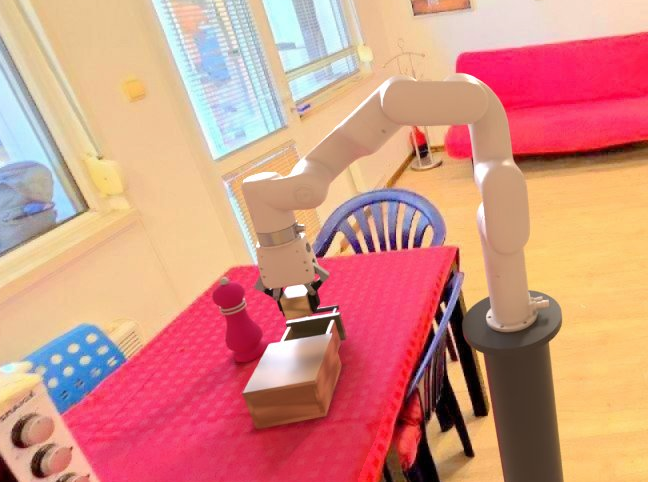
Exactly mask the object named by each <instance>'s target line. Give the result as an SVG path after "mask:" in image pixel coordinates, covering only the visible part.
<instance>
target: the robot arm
mask: <svg viewBox="0 0 648 482" xmlns="http://www.w3.org/2000/svg"><path fill="white" fill-rule="evenodd" d="M464 125H465V126H466V125H467V126H468V127H467V128H468V131H469V137H470V143H471V152H472V160H473V162H472V163H473V178H474V182H475V185H476V187H477V189H478V190H479V193H480V195H481V201H482V202H480V204H479V205H478V208H477V210H476V227H477V230H478V235H479V239H480V245H481V250H482V251H481V252H482V256H483V263H484V271H485V278H486V282H487V289H488V297H490V304H491V309H490V310H489V311H488V312H487V315H486V321H487V324H488V325H489V327H491V328H492V329H494V330H496V331H500V332H515V331H519V330H522V329H525V328H527V327H529V326H530V325H531V324H533V323H534V321H535V320H536V319H537V309H545V308H550V306H549V300H544V301H543V298H542V297H537V298H533V297H530V293H529V290H530V289H529V282H528V274H527V267H526V257H525V256H526V255H525V249H524V248H525V247H526V245H527V243H528V241H529V238H530V233H531V219H530V208H529V207H530V206H529V195H528V193H529V192H528V185H527V181H526V178H525V176H524V173H523V172H522V170H521V169H520V168H519V166H518V165H517V164H516V162H515V160H514V155H513V147H512V139H511V132H510V125H509V119H508V117H507V112H506V109H505V107H504V106H503V103H502V101H501V100H500V98H499V97H498V95H497V94H496V93H495V92H494V91H493V89H492V88H491V87H489V85H487V84H486V83H484V81H481V80H480V79H478V78H476V77H475V76H473V75H470V74H467V73H463V72H456V73H455V72H454V73H451V74H449V75H448V76H447V77H445V78H444V79H443V80H417V79H415V78H414V77H413V76H410V75H408V74H403V73H397V74H395V75H393V76H390V77H389V78H388V79H386V80H385V81H384V82H383V83H382V84H380V85H379V87H377V89H376V90H374V92H372V93H371V94H370V95H369V96H368V97H367V98H366V99H364V100H363V102H362V103H361V104H359V106H357V107H356V109H354V111H352V112H351V113H350V114H349V115H348V116H346V118H344V120H343V121H342V122H341V123H339V124H338V125H337V126H336V127H335V128H334V129H333V130H332V131H331V132H330V133H328V135H326V136H325V137H324V138H323V139H322V140H321V141H320V142H318V144H316V145H315V146H314V147H313V148H312V149H311V150H310V151H308V153H307V154H306V155H305V156H303V157H302V158H301V159H300V160H299V162H298V163H296V164H295V166H294V167H293V169H292V170H291V172H290V173H289V174H288V175H286V176H283V175H282V174H281V173H279V172H276V171H272V172H271V171H268V172H267V171H266V172H260V173H256V174H254V175H250V176H248V177H247V178H245V179H244V180H243V181H242V182H241V186H240V189H241V192H242V195H243V199H244V202H245V206H246V208H247V211H248V214H249V218H250V220H251V223H252V226H253V229H254V234H255V237H256V239H257V243H256V244H255V245H256V246H255V247H256V249H255V251H256V259H257V267H258V271H259V277H258V279H257V281H256V282H255V284H254V286H253V289H254V290H256V291H259V292H261V293H264V294H265V295H266V296H269V297H270V298H272V300H273V301H275V302H276V304H277V306H278V311H279V312H281V313H282V317H284V318H285V315H284V311H283V308H282V305H281V302H280V298H281V297H282V295H283V293H284V292H285V291H284V288H287V287H292V286H298V285H304V287H305V288H306V290H307V291H308V292H309V295H308V300H309V303H310V307H311V310H312V311H313V312H316V310H317V308H319V306H320V305H321V299H320V294H319V289H321V286H322V285H323V284H324V283H325V282H326V281H328V279H329V278H330V276H331V272H330V271H329V270H326V269H325V268H324V267H323V266H322V265H319V262H318V258H317V257H316V254H315V251H314V248H313V246H312V244H311V242H310V241H309V238H308V236H307V235H306V233H305V232H306V231H307V226H306V224H300V223H299V221H298V220H297V218H296V213H295V211H307V210H313V209H316V208H318V207H321V205H322V204H324V202H325V201H326V200H327V196H328V193H329V189H330V186H331V183H333V182H334V180H335V179H337V178H338V177H339V176H340V175H341V174H342V173H343V172H344V171H345V170H346V169H347V168H348V167H349V166H351V165H352V164H353V163H354V162H356V161H357V160H359V159H362V158H364V157H368V156H371V155H373V154H375V153H376V152H378V151H379V150H380V149H381V148H382V147H383V146H384V145H385V144H386V143H388V142H389V140H390V139H391V138H392V137H393V136H394V135H396V134H397V133H398V132H399V131H400V130H401V129H402V128H403V127H405V126H408V127H440V126H444V127H445V126H464ZM316 275H317V276H318V278H317V279H316Z"/></svg>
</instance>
